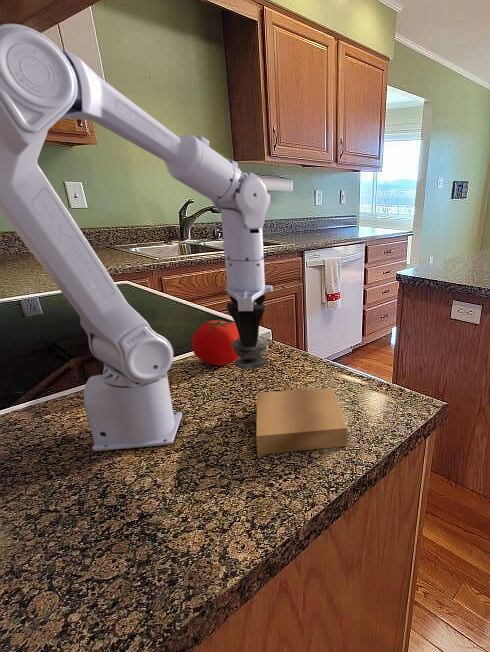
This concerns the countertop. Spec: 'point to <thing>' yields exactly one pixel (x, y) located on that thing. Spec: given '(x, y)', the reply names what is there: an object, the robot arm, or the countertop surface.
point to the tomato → (215, 342)
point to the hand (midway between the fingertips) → (249, 341)
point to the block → (299, 421)
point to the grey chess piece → (250, 353)
